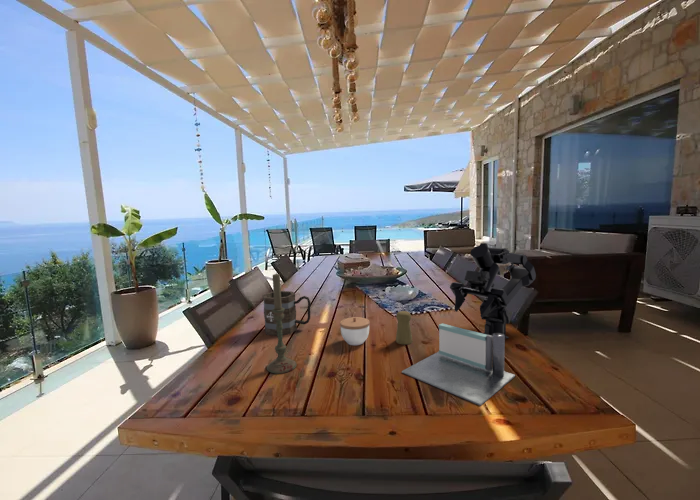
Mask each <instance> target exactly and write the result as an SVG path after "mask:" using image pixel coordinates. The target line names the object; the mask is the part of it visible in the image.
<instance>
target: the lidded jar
mask: <svg viewBox="0 0 700 500" xmlns="http://www.w3.org/2000/svg"><path fill="white" fill-rule="evenodd" d="M339 326H340V333H341V336H342V338H343V340H344V341H345V342H346V343H347V345H349V346H360V345H363V344H364V343H365V341H366V340H367V338H368V337H369V333H370V320H369V319H368V318H365V317H357V316H353V317H352V316H351V317H348V318H346V317H345V318H343V319H342V320H341V321H340V322H339Z"/></svg>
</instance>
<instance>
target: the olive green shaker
mask: <svg viewBox="0 0 700 500" xmlns="http://www.w3.org/2000/svg"><path fill="white" fill-rule="evenodd" d="M411 319H412V315H411V313H410V312H409V311H407V310H402V311H401V310H400V311H398V312H397V313H396V320H397V327H396V333H395V334H396V336H395V343H397V344H398V345H409V344H410V345H411V344H412V343H413V336H412V330H411V323H410V321H411Z"/></svg>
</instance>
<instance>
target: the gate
mask: <svg viewBox="0 0 700 500" xmlns="http://www.w3.org/2000/svg"><path fill="white" fill-rule="evenodd" d="M438 330H439V331H438V333H439V335H438V337H439V339H438V340H439V341H438V342H439V347H438V348H439V350H438V352H439V354H441V355H444V356H447V357H450V358H453V359H456V360H459V361H462V362H465V363H468V364H471V365H474V366H477V367H480V368H483V369H486V370H487V371H492V363H493V336H492V335H486V334H483V333H482V332H477V331H474V330H469V329H465V328H461V327H458V326H453V325H450V324H446V323H443V322H442V323H440V324H438Z"/></svg>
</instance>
